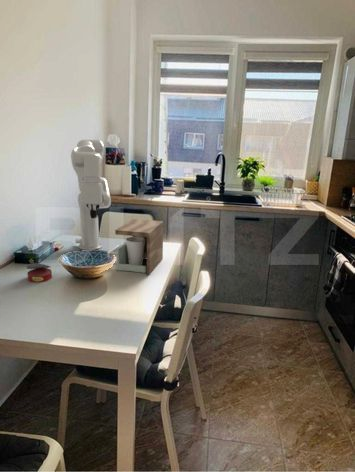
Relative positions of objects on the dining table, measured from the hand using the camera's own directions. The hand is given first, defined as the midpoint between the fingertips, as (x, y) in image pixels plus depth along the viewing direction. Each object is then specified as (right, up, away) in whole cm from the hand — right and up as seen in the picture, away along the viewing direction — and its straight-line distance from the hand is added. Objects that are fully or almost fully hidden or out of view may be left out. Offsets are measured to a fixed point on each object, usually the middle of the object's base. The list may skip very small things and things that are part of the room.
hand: (93, 217), depth 175 cm
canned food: (-19, -28, -18) cm, 38 cm away
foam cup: (+20, -23, +1) cm, 31 cm away
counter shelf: (+23, -23, +1) cm, 33 cm away
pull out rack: (+18, -23, +2) cm, 29 cm away
